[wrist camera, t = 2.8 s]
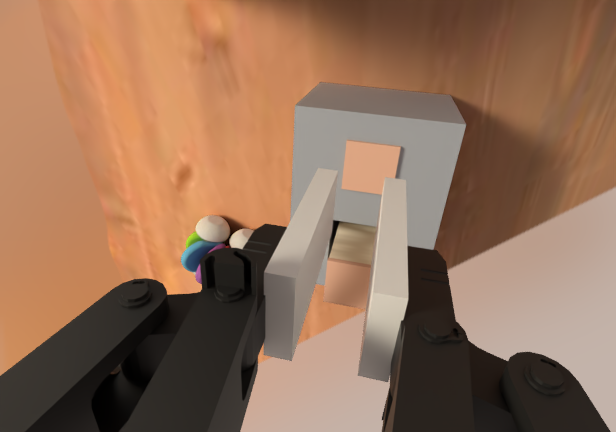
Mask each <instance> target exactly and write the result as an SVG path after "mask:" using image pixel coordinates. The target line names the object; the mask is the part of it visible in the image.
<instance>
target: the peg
mask: <svg viewBox="0 0 616 432" xmlns="http://www.w3.org/2000/svg"><path fill="white" fill-rule="evenodd" d="M375 233H376V227H375V226H369V225H362V224H356V223H349V222H343V221H340V222H339V225H338V229H337V232H336V236H335V239H334V242H333V246H332V249H331V253H330V256H329V257H328V260H327V269H326V279H325V289H324V299H323V302H328V303H334V304H339V305H344V306H349V307H355V308H360V309H365V310H366V304H367V296H368V288H369V279H370V271H371V263H372V255H373V246H374V239H375Z"/></svg>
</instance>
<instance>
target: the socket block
mask: <svg viewBox="0 0 616 432" xmlns="http://www.w3.org/2000/svg"><path fill="white" fill-rule="evenodd" d="M465 128H466V123H465V121H464V119H463V117H462V115H461V114H460V112H459V110H458V108H457V106H456V104H455V102H454V101H453V99H452V97H451V95H443V94H433V93H423V92H413V91H403V90H394V89H384V88H374V87H364V86H354V85H344V84H334V83H324V82H320V83H319V84H318V85H317V86H316V87H315V88H313V89H312V90H311V91H310V92H309V93H308V94H307V95H306V96H305V97H304V98H303V99H302V100H301V101H299V102H298V103H297V104H296V105H295V121H294V145H293V170H292V194H291V219H292V217H293V215H294V213H295V211H296V210H297V208H298V206H299V204H300V202H301V200H302V198H303V196H304V194H305V192H306V190H307V188H308V187H309V185H310V183H311V181H312V179H313V177H314V175H315V173H316V171H317V169H318V168H322V169H329V170H337V171H338V177H337V187H336V196H335V206H334V215H333V225H332V233H331V237H330V240H329V243H328V246H327V249H326V253H325V256H324V259H323V262H322V265H321V269H320V272H319V275H318V278H317V281H316V284H319V285H325V279H326V269H327V260H328V257H329V256H330V253H331V249H332V246H333V242H334V239H335V236H336V232H337V229H338V225H339V222H340V221H343V222H349V223H356V224H362V225H369V226H375V227H377V221H378V215H379V209H380V203H381V197H382V192H383V186H384V180H385V177H388V178H395V179H403V180H406V202H407V246H412V247H419V248H425V249H431V250H433V249H434V245H435V242H436V238H437V234H438V230H439V226H440V223H441V219H442V215H443V211H444V207H445V204H446V200H447V196H448V192H449V189H450V185H451V181H452V177H453V173H454V170H455V166H456V162H457V158H458V154H459V151H460V147H461V143H462V139H463V136H464V132H465ZM291 219H290V221H291Z"/></svg>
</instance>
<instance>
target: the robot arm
mask: <svg viewBox="0 0 616 432" xmlns="http://www.w3.org/2000/svg"><path fill="white" fill-rule="evenodd" d="M337 177H338V171H337V170H329V169H322V168H318V169H317V171H316V173H315V175H314V177H313V179H312V181H311V183H310V185H309V187H308V188H307V190H306V192H305V194H304V196H303V198H302V200H301V202H300V204H299V206H298V208H297V210H296V211H295V213H294V215H293V217H292V219H291V221H290V223H289V225H288V227H283V226H277V225H271V224H264V225H263V226H261V227H259V228H258V229H256V230H254V232H253V233H252V235H251V236H250V238H249V239H248V242H246V244H245V245H244V247H243V249H239V248H221V249H216V250H213V251H211V252H209V253H207V254H205V255H204V256H203V257H202V258H201V259H200V270H201V280H202V290H201V292H198V293H191V294H175V295H167V291H166V289H165V287H164V285H163V284H162V283H160V282H158V281H157V280H153V279H146V278H145V279H134V280H131V281H128V282H125V283H122V284H121V285H119V286H117V287H115V288H114V289H112V290H111V291H110V292H108V293H107V294H106V295H105V296H103V297H102V298H101V299H100V300H98V301H97V302H95V303H94V304H93V305H92V306H90V307H89V308H88V309H86V310H85V311H84V312H83V313H81V314H80V315H79V316H77V317H76V318H75V319H73V320H72V321H71V322H70V323H68V324H67V325H66V326H64V327H63V328H62V329H61V330H59V331H58V332H57V333H56V334H54V335H53V336H51V337H50V338H49V339H48V340H46V341H45V342H44V343H42V344H41V345H40V346H39V347H37V348H36V349H35V350H33V351H32V352H31V353H29V354H28V355H27V356H26V357H24V358H23V359H22V360H21V361H19V362H18V363H16V364H15V365H14V366H13V367H12V368H10V369H9V370H7V371H6V372H5V373H4V374H2V375H1V376H0V432H240V430H241V426H242V423H243V420H244V416H245V412H246V409H247V405H248V402H249V399H250V395H251V392H252V388H253V384H254V381H255V377H256V374H257V368H258V355H259V352H260V350H261V347H262V345H263V342H264V355H267V356H271V357H276V358H280V359H285V360H290V361H292V358H293V355H294V352H295V349H296V345H297V342H298V339H299V336H300V333H301V329H302V326H303V323H304V320H305V317H306V313H307V310H308V307H309V304H310V301H311V297H312V294H313V291H314V288H315V285H316V281H317V278H318V275H319V272H320V269H321V265H322V262H323V259H324V256H325V253H326V249H327V246H328V243H329V240H330V237H331V233H332V225H333V215H334V206H335V196H336V187H337ZM447 274H448V273H447V266H446V261H445V260H444V259H443V258H442V256H441V255H440V254H439V253H438V251H437V250H431V249H425V248H419V247H412V246H407V202H406V180H403V179H395V178H388V177H385V180H384V186H383V192H382V197H381V203H380V209H379V215H378V221H377V227H376V233H375V239H374V246H373V255H372V263H371V271H370V279H369V288H368V296H367V304H366V312H365V321H364V330H363V337H362V345H361V354H360V362H359V371H358V376H363V377H367V378H372V379H376V380H381V381H385V382H388V380H389V376H390V388H389V392H388V396H387V400H386V404H385V408H384V412H383V416H382V420H383V427H382V432H610V430H609V429H608V427H607V426H606V424H605V422H604V421H603V419H602V418H601V416H600V414H599V413H598V411H597V410H596V408H595V407H594V405H593V403H592V402H591V400H590V399H589V397H588V396H587V394H586V393H585V391H584V390H583V388H582V386H581V385H580V383H579V382H578V381H577V380H576V378H575V377H574V376H573V375H572V374H571V373H570V371H569V370H567V369H566V368H565V367H563V366H562V365H561V364H559V363H558V362H556V361H554V360H552V359H550V358H548V357H546V356H544V355H541V354H536V353H532V352H520V353H516V354H515V355H513V356H512V357H510V359H509V361H506V360H503V359H501V358H499V357H497V356H494V355H492V354H490V353H488V352H486V351H484V350H482V349H479V348H478V347H476V346H475V345H474V344H472V343H471V342H470V341H468V338H467V335H466V333H465V331H464V329H463V328H462V327H461V326H460V325H459V323H457V322H456V320H455V314H454V308H453V302H452V296H451V290H450V285H449V278H448V275H447Z"/></svg>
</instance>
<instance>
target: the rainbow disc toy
mask: <svg viewBox="0 0 616 432" xmlns="http://www.w3.org/2000/svg"><path fill="white" fill-rule="evenodd" d="M253 232H254V230H252V229H240V230H238V231H236V232H235V233H234V234H233V235H232V236H231V238H230V242H229V243H230V246H231V247H230V246H226V245H225V241H226V240H227V239H228V238H229V236H230V227H229V225H228V223H227V222H226V220H224V219H223V218H222V217H220V216H217V215H209V216H206V217H204V218H202V219H201V220H200V221H199V222H198V224H197V225H196V232H194V233H192V234H191V235H190V236H189V237H188V239H187V241H186V250H185V251H184V253H183V254H182V257H181V262H182V265H183V266H184V268H185V269H187V270H188V271H191V272H193V273H194V274H195V275H196V280H197V282H198V283H200V284H202V280H201V270H200V259H201V258H202V257H203V256H204V255H205V254H207V253H209V252H211V251H213V250H216V249H221V248H239V249H243V247H244V245H245V244H246V242H248V239H249V238H250V236H251V235H252V233H253Z"/></svg>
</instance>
